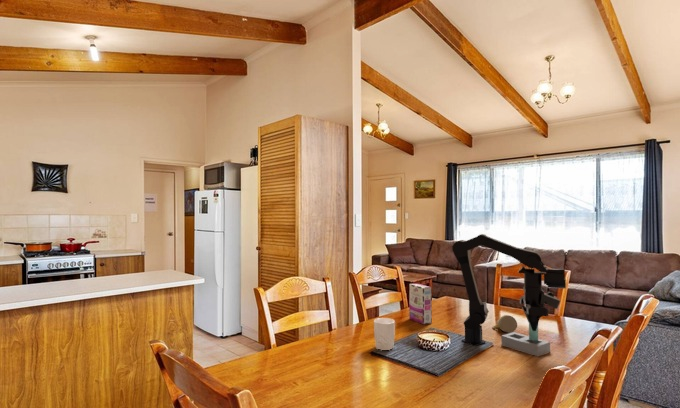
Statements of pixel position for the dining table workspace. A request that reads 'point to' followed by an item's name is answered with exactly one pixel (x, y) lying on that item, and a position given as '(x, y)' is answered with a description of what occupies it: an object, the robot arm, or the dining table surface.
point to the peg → (533, 333)
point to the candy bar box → (420, 303)
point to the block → (525, 344)
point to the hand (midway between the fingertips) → (533, 329)
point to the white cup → (384, 333)
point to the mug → (506, 324)
